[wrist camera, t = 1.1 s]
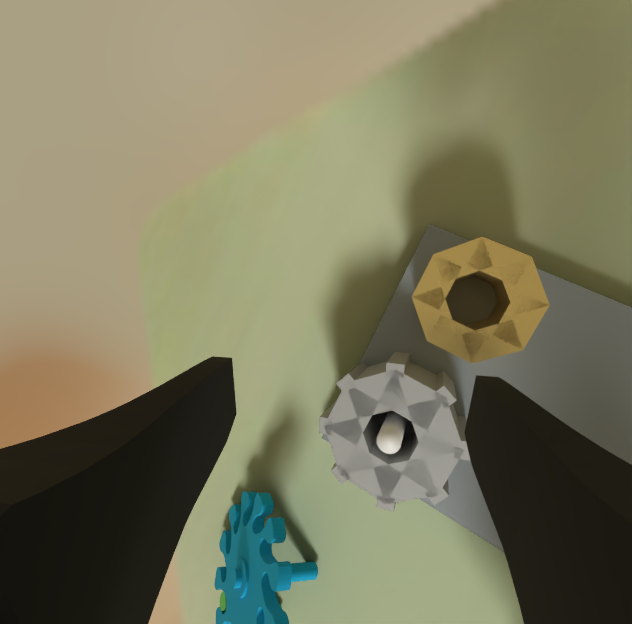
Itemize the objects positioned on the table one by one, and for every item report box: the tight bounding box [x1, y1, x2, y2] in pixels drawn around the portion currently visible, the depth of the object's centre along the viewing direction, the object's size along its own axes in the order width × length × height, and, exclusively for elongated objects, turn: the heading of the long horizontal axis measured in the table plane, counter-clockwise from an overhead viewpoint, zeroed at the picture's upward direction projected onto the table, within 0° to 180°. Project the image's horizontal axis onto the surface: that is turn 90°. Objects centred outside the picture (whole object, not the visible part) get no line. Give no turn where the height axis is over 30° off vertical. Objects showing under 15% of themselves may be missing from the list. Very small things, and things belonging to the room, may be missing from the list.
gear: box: [215, 492, 318, 624], centre depth 25 cm, size 11×6×10 cm
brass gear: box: [412, 237, 550, 363], centre depth 19 cm, size 6×6×4 cm
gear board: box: [319, 224, 632, 552], centre depth 19 cm, size 15×15×6 cm
